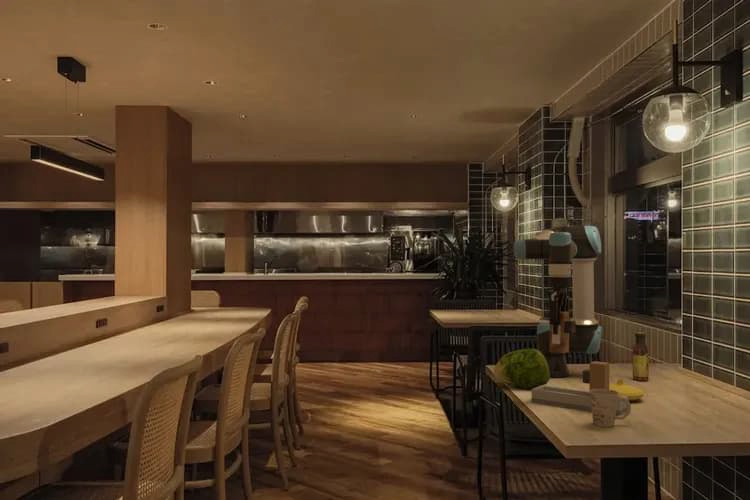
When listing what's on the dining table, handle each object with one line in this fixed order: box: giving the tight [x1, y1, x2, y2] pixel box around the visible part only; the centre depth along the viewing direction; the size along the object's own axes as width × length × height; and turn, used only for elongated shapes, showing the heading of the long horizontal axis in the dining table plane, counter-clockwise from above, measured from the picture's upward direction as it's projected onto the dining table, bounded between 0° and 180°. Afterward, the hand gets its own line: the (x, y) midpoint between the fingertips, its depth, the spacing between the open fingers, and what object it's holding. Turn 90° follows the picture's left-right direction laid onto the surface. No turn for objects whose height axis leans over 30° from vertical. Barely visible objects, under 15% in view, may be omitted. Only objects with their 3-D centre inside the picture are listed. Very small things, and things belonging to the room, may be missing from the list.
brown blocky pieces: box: [530, 360, 628, 416], centre depth 218 cm, size 30×10×16 cm, turn 53°
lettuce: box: [493, 348, 551, 389], centre depth 250 cm, size 16×21×15 cm
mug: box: [588, 389, 632, 428], centre depth 194 cm, size 8×13×10 cm, turn 95°
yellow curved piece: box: [609, 378, 645, 402], centre depth 230 cm, size 16×16×7 cm
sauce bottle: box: [632, 332, 650, 382], centre depth 267 cm, size 6×6×20 cm
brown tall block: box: [550, 311, 576, 354], centre depth 222 cm, size 8×5×14 cm, turn 53°
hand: (559, 342), depth 223 cm, fingers closed on brown tall block, 5 cm apart
